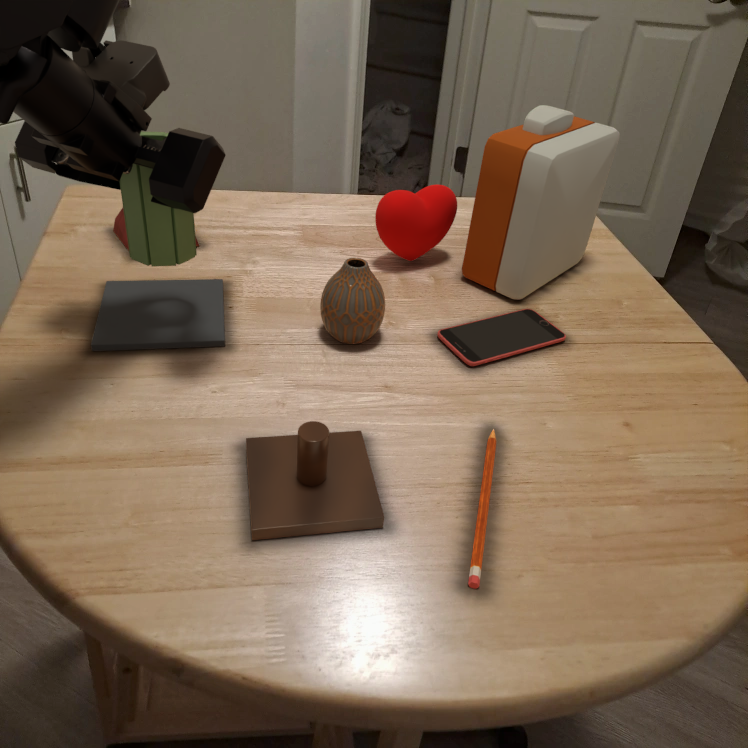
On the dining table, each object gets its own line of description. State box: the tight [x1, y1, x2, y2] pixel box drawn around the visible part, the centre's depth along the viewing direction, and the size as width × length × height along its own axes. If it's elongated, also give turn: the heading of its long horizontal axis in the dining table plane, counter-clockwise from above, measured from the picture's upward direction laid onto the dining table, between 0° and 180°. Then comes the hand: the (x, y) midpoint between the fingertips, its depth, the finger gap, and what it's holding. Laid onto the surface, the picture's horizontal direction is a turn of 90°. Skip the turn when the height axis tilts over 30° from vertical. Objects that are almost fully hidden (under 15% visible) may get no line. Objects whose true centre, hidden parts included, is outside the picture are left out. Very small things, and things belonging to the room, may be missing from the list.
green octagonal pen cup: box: [119, 131, 198, 267], centre depth 64 cm, size 6×6×11 cm
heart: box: [374, 184, 458, 262], centre depth 85 cm, size 12×5×10 cm, turn 121°
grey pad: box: [90, 278, 226, 352], centre depth 72 cm, size 13×13×1 cm
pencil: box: [467, 428, 497, 590], centre depth 54 cm, size 1×18×1 cm, turn 167°
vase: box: [319, 257, 386, 345], centre depth 70 cm, size 7×7×9 cm
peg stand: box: [245, 420, 385, 541], centre depth 52 cm, size 10×10×6 cm
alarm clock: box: [461, 104, 621, 300], centre depth 83 cm, size 18×9×21 cm, turn 139°
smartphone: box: [436, 308, 567, 367], centre depth 74 cm, size 7×1×14 cm
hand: (167, 196), depth 65 cm, fingers closed on green octagonal pen cup, 6 cm apart
